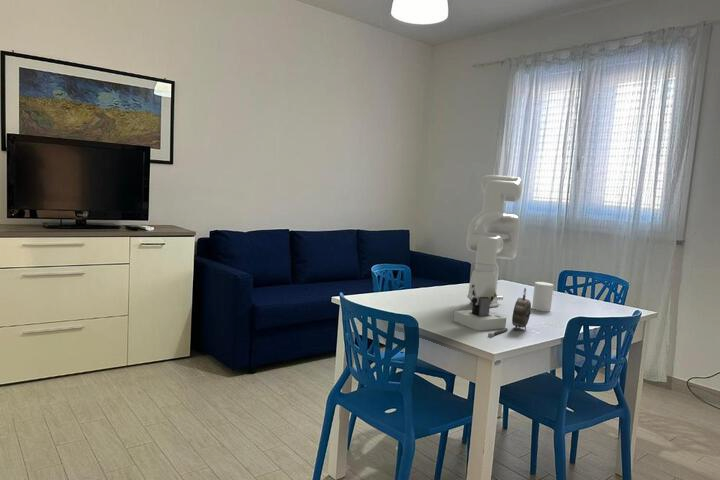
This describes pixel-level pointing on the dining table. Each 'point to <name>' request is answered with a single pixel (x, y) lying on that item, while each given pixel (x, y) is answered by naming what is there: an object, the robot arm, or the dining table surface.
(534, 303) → the cup
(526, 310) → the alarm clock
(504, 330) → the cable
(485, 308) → the charger
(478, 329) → the plate
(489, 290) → the robot arm
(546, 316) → the dining table surface
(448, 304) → the dining table surface
